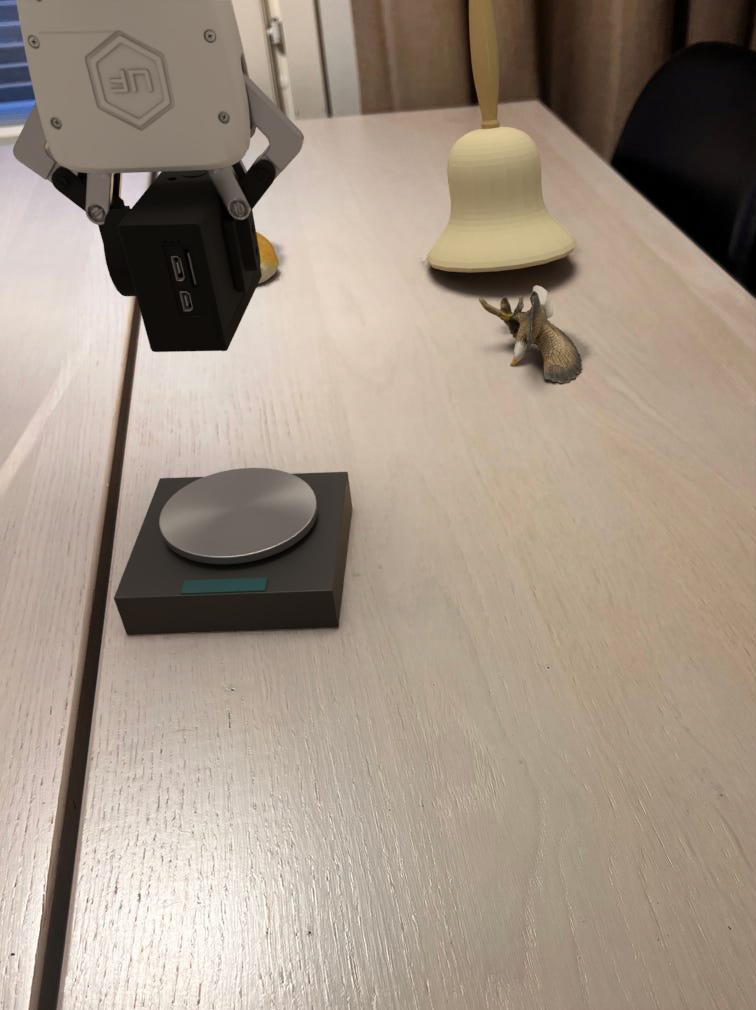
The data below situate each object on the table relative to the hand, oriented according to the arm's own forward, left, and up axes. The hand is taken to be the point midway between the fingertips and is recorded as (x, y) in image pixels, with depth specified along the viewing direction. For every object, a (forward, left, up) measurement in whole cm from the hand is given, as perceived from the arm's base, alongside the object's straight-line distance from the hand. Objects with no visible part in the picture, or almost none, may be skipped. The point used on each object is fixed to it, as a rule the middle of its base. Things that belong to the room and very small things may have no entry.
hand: (190, 281), depth 57 cm
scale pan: (+1, -4, -14) cm, 15 cm away
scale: (+1, -4, -17) cm, 18 cm away
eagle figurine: (+22, +24, -18) cm, 37 cm away
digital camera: (0, 0, -2) cm, 2 cm away
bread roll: (-7, +46, -18) cm, 49 cm away
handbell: (+20, +45, -18) cm, 52 cm away
